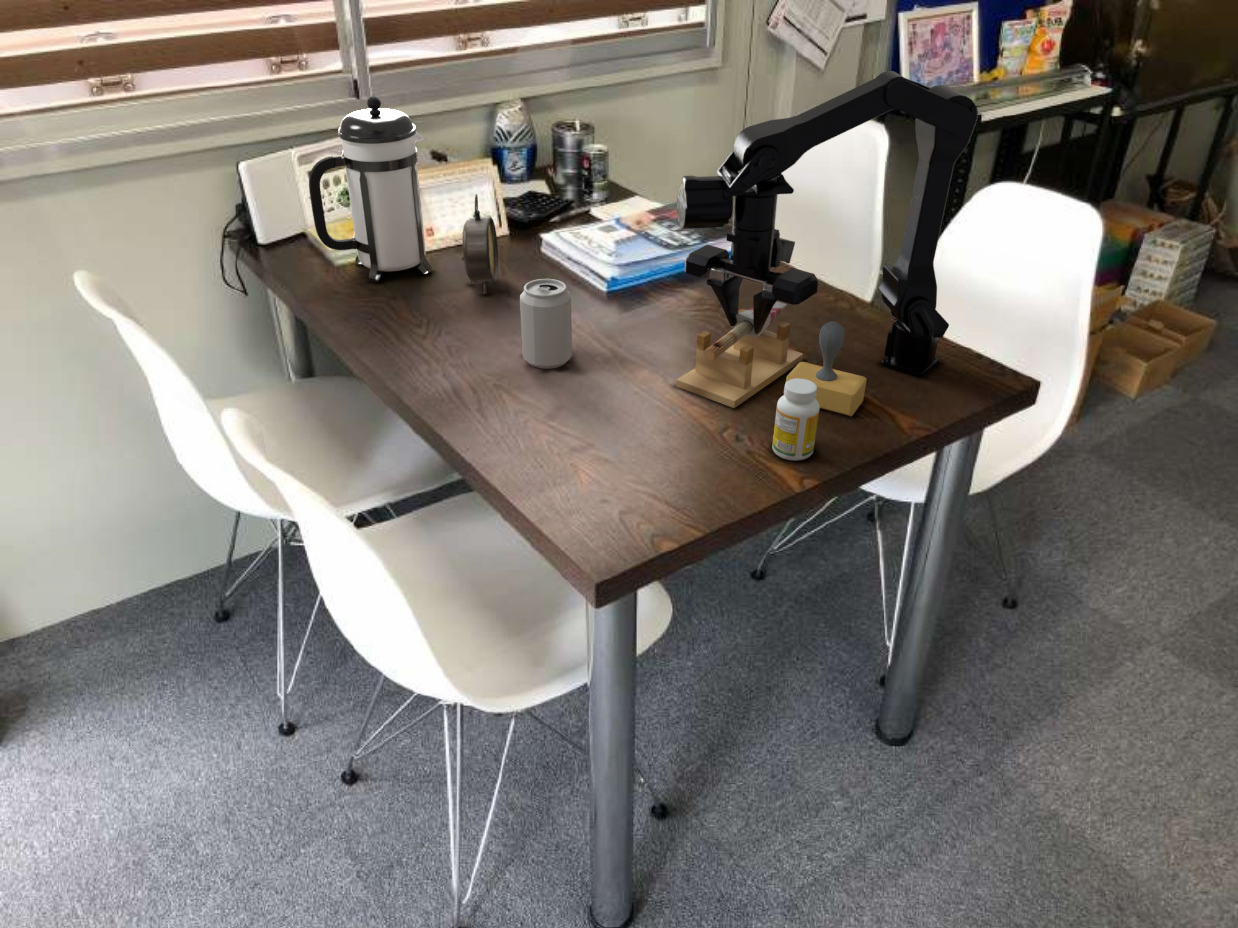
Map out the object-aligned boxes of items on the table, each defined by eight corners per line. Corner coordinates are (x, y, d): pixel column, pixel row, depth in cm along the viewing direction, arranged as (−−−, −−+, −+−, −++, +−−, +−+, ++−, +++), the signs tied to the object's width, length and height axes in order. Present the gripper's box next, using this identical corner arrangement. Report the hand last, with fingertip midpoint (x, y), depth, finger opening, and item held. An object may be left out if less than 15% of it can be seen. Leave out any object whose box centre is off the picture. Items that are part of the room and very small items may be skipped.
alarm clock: (493, 298, 171) (487, 205, 163) (462, 297, 172) (454, 204, 163) (500, 273, 181) (495, 184, 172) (470, 273, 181) (464, 183, 172)
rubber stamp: (783, 399, 142) (791, 322, 136) (797, 383, 147) (806, 307, 140) (850, 417, 138) (863, 338, 132) (863, 399, 143) (876, 322, 136)
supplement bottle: (777, 462, 129) (784, 396, 123) (767, 440, 133) (774, 376, 128) (818, 460, 129) (827, 395, 124) (807, 439, 134) (816, 374, 128)
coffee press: (378, 247, 191) (357, 82, 174) (450, 260, 186) (436, 91, 169) (320, 280, 177) (292, 104, 161) (397, 295, 172) (376, 115, 156)
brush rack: (802, 360, 153) (808, 317, 149) (734, 408, 140) (738, 362, 136) (746, 342, 158) (750, 299, 154) (676, 386, 145) (678, 341, 142)
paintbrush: (791, 296, 150) (720, 350, 137) (790, 313, 152) (720, 367, 139) (768, 290, 152) (696, 342, 139) (767, 306, 153) (696, 359, 140)
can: (580, 354, 154) (579, 281, 147) (557, 375, 148) (555, 299, 142) (537, 345, 156) (534, 272, 150) (513, 365, 151) (509, 290, 144)
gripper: (843, 223, 137) (830, 328, 146) (728, 196, 147) (722, 295, 155) (802, 246, 130) (790, 355, 138) (684, 216, 140) (680, 319, 148)
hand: (745, 329), depth 145 cm, fingers closed on paintbrush, 4 cm apart
